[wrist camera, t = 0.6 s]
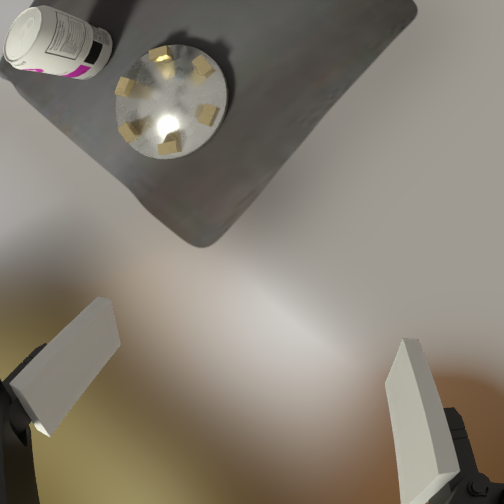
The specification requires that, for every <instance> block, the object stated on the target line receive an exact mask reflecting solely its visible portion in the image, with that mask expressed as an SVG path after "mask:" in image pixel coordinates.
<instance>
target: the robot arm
mask: <svg viewBox="0 0 504 504" xmlns="http://www.w3.org/2000/svg"><path fill="white" fill-rule="evenodd" d="M120 344H121V343H120V340H119V335H118V331H117V326H116V322H115V317H114V313H113V308H112V303H111V299H107V298H102V297H97V298H96V299H95V300H94V301H93V302H92V303H91V304H90V305H88V306H87V307H86V308H85V309H84V310H83V311H82V312H81V313H80V314H79V315H78V316H77V317H76V318H75V319H73V320H72V321H71V322H70V323H69V324H68V325H67V326H66V327H65V328H64V329H63V330H62V331H61V332H60V333H59V334H58V335H57V336H56V337H55V338H54V339H53V340H52V341H51V342H50V343H48V344H46V343H45V344H43V345H41V346H39V347H37V348H36V349H35V350H34V351H33V352H32V353H31V354H30V355H29V357H27V358H26V359H24V361H23V363H21V364H20V365H19V366H18V367H17V368H16V369H15V370H14V371H13V372H12V373H11V374H10V375H9V376H8V377H7V378H6V379H5V380H4V381H3V382H2V381H1V380H0V504H40V502H39V496H38V490H37V484H36V477H35V470H34V462H33V453H32V440H31V430H30V427H29V424H30V422H31V421H32V422H33V424H34V425H35V427H36V428H37V430H39V431H41V432H42V433H44V434H46V435H47V436H49V437H51V435H52V434H53V432H54V431H55V430H56V428H57V427H58V426H59V424H60V423H61V422H62V420H63V419H64V417H65V416H66V415H67V414H68V412H69V411H70V410H71V408H72V407H73V406H74V404H75V403H76V402H77V400H78V399H79V398H80V396H81V395H82V394H83V392H84V391H85V390H86V388H87V387H88V386H89V385H90V383H91V382H92V381H93V379H94V378H95V377H96V375H97V374H98V373H99V372H100V370H101V369H102V368H103V367H104V365H105V364H106V363H107V361H108V360H109V359H110V358H111V356H112V355H113V354H114V353H115V351H116V350H117V349H118V347H119V346H120ZM385 388H386V393H387V399H388V405H389V410H390V416H391V423H392V429H393V435H394V443H395V450H396V458H397V467H398V476H399V486H400V497H401V504H425V503H426V502H427V501H429V504H504V484H502V483H493V482H490V480H489V478H488V477H487V476H485V475H484V474H482V473H479V472H478V469H477V466H476V462H475V459H474V455H473V452H472V448H471V445H470V442H469V439H468V435H467V432H466V430H465V426H464V422H463V420H462V417H461V415H460V414H459V413H458V412H457V411H456V409H455V408H454V407H453V408H443V407H442V404H441V400H440V397H439V394H438V391H437V388H436V385H435V382H434V380H433V377H432V374H431V371H430V368H429V366H428V363H427V360H426V357H425V355H424V352H423V349H422V347H421V344H420V342H419V339H408V338H403V339H402V341H401V344H400V347H399V350H398V352H397V355H396V358H395V360H394V363H393V365H392V368H391V370H390V373H389V375H388V377H387V380H386V382H385Z"/></svg>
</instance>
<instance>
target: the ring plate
mask: <svg viewBox="0 0 504 504" xmlns="http://www.w3.org/2000/svg"><path fill="white" fill-rule="evenodd" d="M114 94H117V98H116V118H117V123H118V126H119V128H118V131H119V132H120V134H121V135H122V137H123V138H124V139H125V141H126V142H127V143H129V144H130V145H131V146H132V147H133V148H134V149H135V150H137V151H138V152H140V153H142V154H144V155H146V156H149V157H152V158H157V159H171V158H179V157H183V156H186V155H189V154H191V153H193V152H195V151H197V150H199V149H200V148H202V147H203V146H205V145H206V144H207V143H208V142H209V141H210V140H211V139H212V138H213V137H214V136H215V134H216V133H217V132H218V130H219V129H220V127H221V125H222V123H223V121H224V119H225V116H226V113H227V109H228V103H229V89H228V84H227V81H226V78H225V75H224V73H223V71H222V69H221V68H220V67H219V65H218V64H217V63H216V62H215V61H214V60H213V59H212V58H211V57H210V56H209V55H207V54H206V53H204V52H203V51H201V50H199V49H197V48H194V47H191V46H187V45H168V46H167V45H165V46H162V47H158V48H155V49H152V50H149V53H147V54H146V55H144V56H142V57H141V58H140V59H139V60H138V61H136V62H135V64H134V65H133V66H132V67H131V68H130V69H129V71H128V72H127V73H126V75H125V77H121V78H120V80H119V83H118V85H117V88H116V90H115V93H114Z"/></svg>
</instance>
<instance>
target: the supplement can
mask: <svg viewBox="0 0 504 504" xmlns="http://www.w3.org/2000/svg"><path fill="white" fill-rule="evenodd" d="M3 49H4V57H5V59H6V61H8V62H10V64H11V65H12V66H13V67H15V68H17V69H22V70H29V71H36V72H42V73H49V74H54V75H60V76H66V77H71V78H76V79H88V78H91V77H93V76H95V75H96V74H97V73H98V72H100V71H101V70H102V69H103V67H104V66H105V64H106V63H107V62H108V60H109V57H110V54H111V52H112V39H111V35H110V34H109V33H108V32H107V31H106V30H104V29H102V28H100V27H97V26H95V25H93V24H91V23H88V22H86V21H84V20H82V19H79V18H77V17H74V16H72V15H70V14H67V13H65V12H62V11H60V10H57V9H55V8H52V7H49V6H45V5H42V6H38V7H31V8H28V9H26V10H25V11H23V12H22V13H21V14H20V15H19V16H18V17H17V18H16V19H15V21H14V22H13V23H12V25H11V27H10V29H9V31H8V33H7V35H6V38H5V42H4V48H3Z"/></svg>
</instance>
